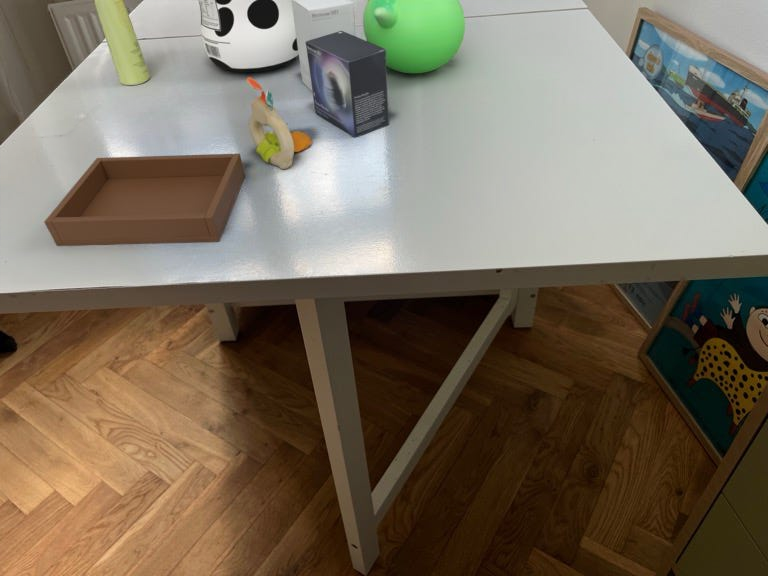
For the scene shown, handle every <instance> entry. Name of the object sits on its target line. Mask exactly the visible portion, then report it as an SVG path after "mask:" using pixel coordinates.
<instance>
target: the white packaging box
mask: <svg viewBox="0 0 768 576" xmlns="http://www.w3.org/2000/svg"><path fill="white" fill-rule="evenodd" d="M354 4H355V3H354V2H353V1H352V0H292V8H293V16H294V23H295V30H296V38H297V45H298V53H299V56H298V60H299V67H300V74H301V81H302V83H303V84H304V85H305V86H306V87H307V88H308V89H309V90H310V91H311V92H312V93H313V91H312V84H311V76H310V70H309V63H308V55H307V48H306V43H305V42H306V41H309V40H312V39H315V38H319V37H322V36H325V35H329V34H332V33H335V32H338V31H344V32H346V33H348V34H351V35H353V36H356V35H357V34H356V21H355V20H356V19H355V5H354ZM356 37H357V36H356Z"/></svg>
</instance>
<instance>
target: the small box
mask: <svg viewBox="0 0 768 576" xmlns="http://www.w3.org/2000/svg"><path fill="white" fill-rule="evenodd" d="M305 43H306V48H307V55H308V63H309V70H310V76H311V84H312V91H313V92H312V91H311V92H312V97H313V105H314V113H315V114H316V115H318V116H319V117H321V118H323V119H324V120H326V121H327V122H329V123H331V124H332V125H334V126H336V127H337V128H339V129H341V130H342V131H344V132H345V133H347V134H349V135H350V136H352V137H353V138H357V137H359V136H362V135H365V134H367V133H370V132H373V131H376V130H379V129H381V128H384V127H386V126H389V125H390V117H389V116H390V115H389V102H388V99H389V98H388V81H387V80H388V79H387V66H386V49H385V48H382V47H380V46H377V45H375V44H373V43H370V42H368V41H367V40H366V39H363V38H361V37H358V36H353V35H351V34H348V33H346V32H344V31H338V32H335V33H332V34H329V35H325V36H322V37H319V38H315V39H312V40H309V41H306V42H305Z"/></svg>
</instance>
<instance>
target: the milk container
mask: <svg viewBox="0 0 768 576" xmlns="http://www.w3.org/2000/svg"><path fill="white" fill-rule="evenodd" d="M198 4H199V11H200V35H201V41H202V44H203V48H204V50H205V52H206V55H207V57H208V59H209V60H210V62H212V64H214V65H215V66H216V67H218V68H220V69H223V70H226V71H229V72H238V73H253V72H254V73H256V72H257V73H258V72H264V71H270V70H274V69H278V68H281V67H283V66H286V65H288V64H290V63H292V62H293V61H296V60H297V58H299V53H298V45H297V38H296V30H295V23H294V16H293V8H292V0H198Z"/></svg>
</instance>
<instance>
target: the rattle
mask: <svg viewBox="0 0 768 576" xmlns="http://www.w3.org/2000/svg"><path fill="white" fill-rule="evenodd" d="M246 81H247V83H248V85H250V86H251V87H252V88H253V89H255V90H258V91H260V92H261V95H259V96H257V97H255V98H254V99H253V100H252V102H251V111H252V113H251V115H250V118H249V120H248V121H249V122H248V129H249V133H250V138H251V139H252V142H253V143H254V144H253V145H255V147H256V150H255V152H256V153H257V154H258V155H259V156H260V157H261V159H262V160H263V161H264V162H266V163H267V164H268V165H270V164H271V165H273V166H276V167H278V168H280V169H282V170H287V169H288V168H290V167H291V166H292V165H293V158H294V156H295V153H299V152H301V151H304V150H306V149H308V148H309V147H310V146H311V145H312V138H311V136H309V135H308V134H307V133H304V132H302V131H300V130H296V131H292V132H290V129H289V127H288V126H287V123H286V122H285V121H284V120H283V119H282V118H281V116H280V115H279V114H278V112H277V110H276V108H275V106H274V100H273V96H272V95H273V94H272V91H271V90H270V89H269V88H267V89H266V92H265V91H264V90H263V88H262V86H261V85H260V84H259V83H258V82H257V81H256V80H255V79H253V78H252V77H250V76H249V77H247V78H246ZM264 126H265V127H269V128H270V129H271V130H272V131H273V132H270V131H268V130H267V131H266V132H265V131H264Z"/></svg>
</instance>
